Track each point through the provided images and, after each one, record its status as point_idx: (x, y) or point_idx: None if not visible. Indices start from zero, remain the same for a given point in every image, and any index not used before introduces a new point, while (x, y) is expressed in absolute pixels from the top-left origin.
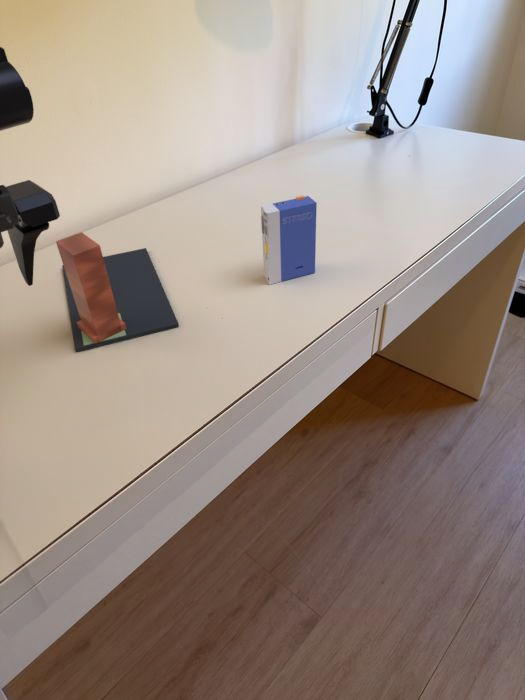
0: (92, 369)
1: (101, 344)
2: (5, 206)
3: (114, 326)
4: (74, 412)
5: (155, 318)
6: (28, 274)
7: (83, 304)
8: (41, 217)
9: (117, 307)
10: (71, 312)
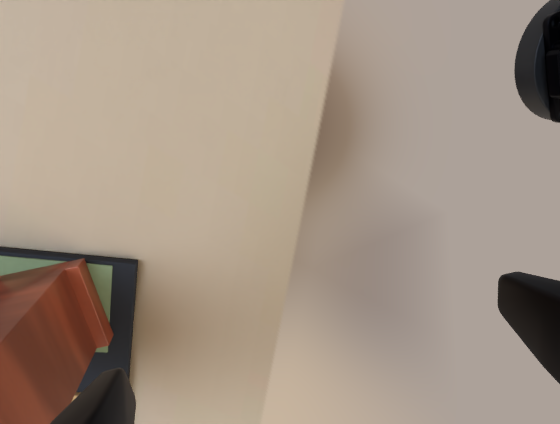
0: (111, 180)
1: (71, 255)
2: None
3: (9, 282)
4: (180, 49)
5: None
6: (80, 416)
7: (40, 351)
8: None
9: None
10: None
